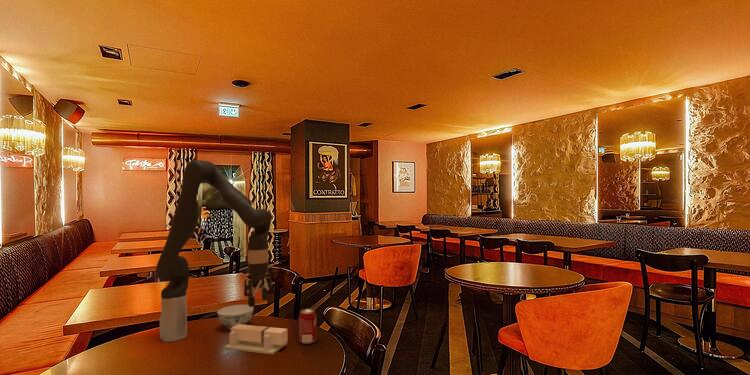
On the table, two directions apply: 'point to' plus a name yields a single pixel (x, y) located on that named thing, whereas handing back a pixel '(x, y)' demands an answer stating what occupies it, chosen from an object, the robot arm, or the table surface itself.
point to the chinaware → (235, 315)
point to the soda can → (307, 326)
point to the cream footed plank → (253, 345)
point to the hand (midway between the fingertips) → (258, 303)
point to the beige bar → (260, 333)
